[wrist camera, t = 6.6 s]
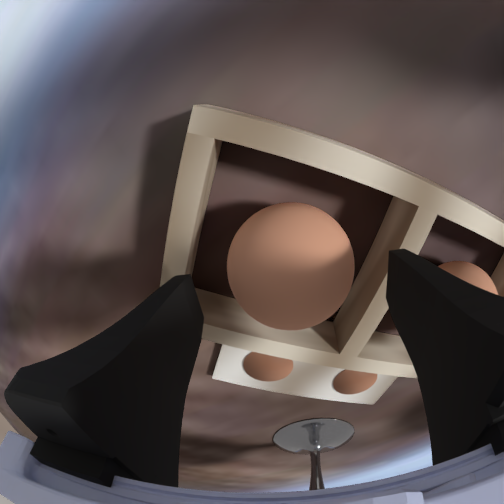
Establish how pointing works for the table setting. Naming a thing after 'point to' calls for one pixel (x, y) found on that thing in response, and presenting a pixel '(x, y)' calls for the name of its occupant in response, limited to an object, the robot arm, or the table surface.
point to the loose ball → (290, 266)
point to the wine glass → (314, 441)
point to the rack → (362, 291)
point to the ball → (470, 274)
